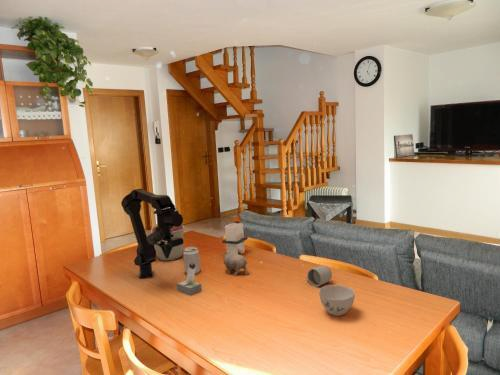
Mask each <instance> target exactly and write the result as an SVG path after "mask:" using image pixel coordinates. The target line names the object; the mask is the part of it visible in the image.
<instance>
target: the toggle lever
mask: <svg viewBox="0 0 500 375" xmlns="http://www.w3.org/2000/svg"><path fill="white" fill-rule="evenodd" d="M195 269H196V266H195V264H194V263H191V264H190V265H189V267H188V272H187V273H186V279H185V280H186V283H187V284H191V283H193V281H194V282H195V276H196V274H195Z"/></svg>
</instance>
